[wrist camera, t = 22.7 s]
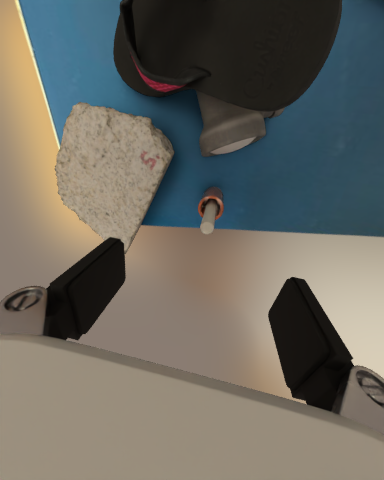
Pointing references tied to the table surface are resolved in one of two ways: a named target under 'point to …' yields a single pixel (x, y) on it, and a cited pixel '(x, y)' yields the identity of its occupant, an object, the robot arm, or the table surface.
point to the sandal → (226, 48)
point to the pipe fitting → (229, 125)
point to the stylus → (209, 217)
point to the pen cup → (213, 194)
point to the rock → (111, 168)
